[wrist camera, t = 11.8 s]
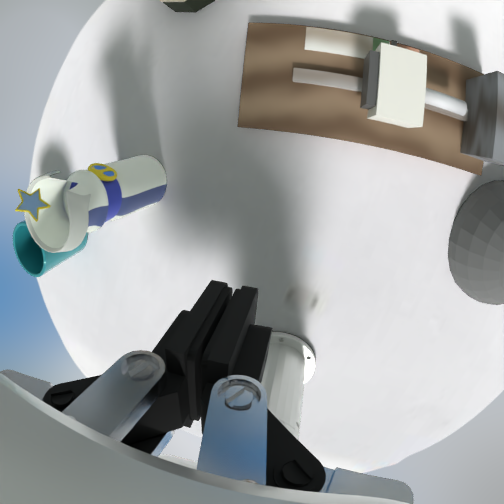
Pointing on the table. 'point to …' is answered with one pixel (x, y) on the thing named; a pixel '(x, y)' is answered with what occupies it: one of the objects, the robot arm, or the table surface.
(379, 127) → the base
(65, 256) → the cup
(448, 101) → the white block grey face
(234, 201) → the table surface
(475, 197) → the baseball cap
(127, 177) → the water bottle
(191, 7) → the wine bottle
